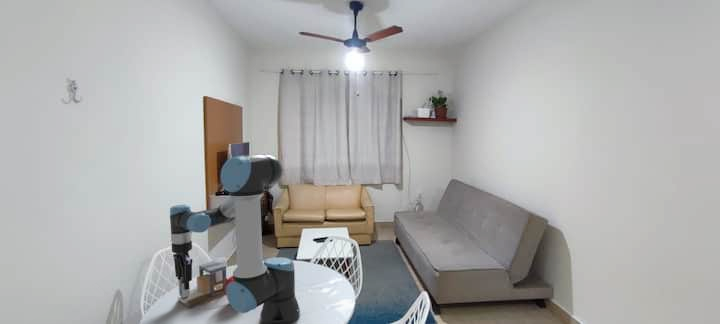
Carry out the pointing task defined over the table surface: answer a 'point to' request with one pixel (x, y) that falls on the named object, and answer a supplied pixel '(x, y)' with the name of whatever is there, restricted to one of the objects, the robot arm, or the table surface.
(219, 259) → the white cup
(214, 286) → the grey legged frame
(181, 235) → the robot arm
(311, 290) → the table surface
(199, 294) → the u-shaped holder
